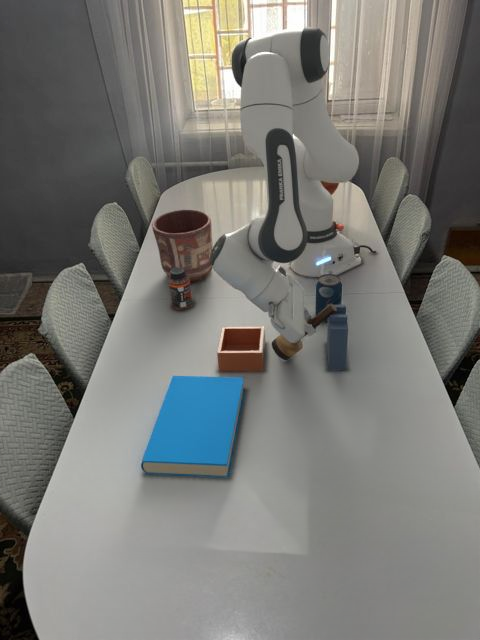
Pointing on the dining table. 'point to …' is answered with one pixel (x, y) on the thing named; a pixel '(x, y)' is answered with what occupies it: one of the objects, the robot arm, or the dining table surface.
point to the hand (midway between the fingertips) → (313, 327)
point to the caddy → (241, 349)
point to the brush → (290, 349)
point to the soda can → (328, 292)
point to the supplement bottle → (180, 289)
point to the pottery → (184, 242)
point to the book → (196, 427)
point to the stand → (337, 338)
